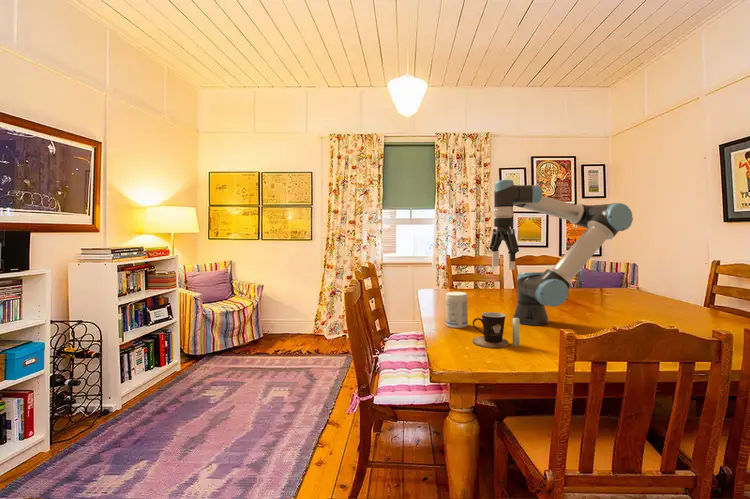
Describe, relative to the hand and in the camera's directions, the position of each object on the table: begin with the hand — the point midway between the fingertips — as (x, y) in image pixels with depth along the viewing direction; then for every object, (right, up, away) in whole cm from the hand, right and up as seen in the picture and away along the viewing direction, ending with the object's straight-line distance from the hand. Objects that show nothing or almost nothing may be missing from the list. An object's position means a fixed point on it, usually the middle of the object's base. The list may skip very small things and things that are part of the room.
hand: (503, 268), depth 163 cm
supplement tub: (-18, -27, +10) cm, 33 cm away
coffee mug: (-11, -27, -15) cm, 33 cm away
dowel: (-2, -28, -19) cm, 34 cm away
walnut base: (-10, -28, -16) cm, 34 cm away
